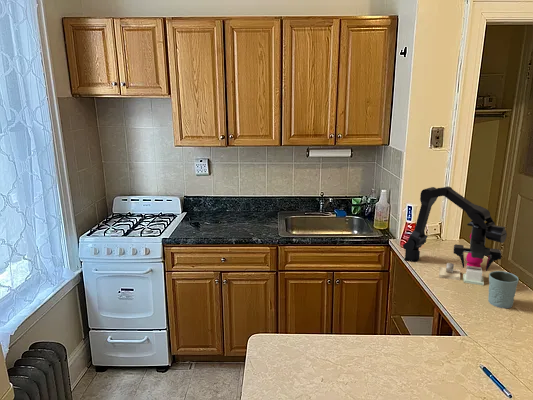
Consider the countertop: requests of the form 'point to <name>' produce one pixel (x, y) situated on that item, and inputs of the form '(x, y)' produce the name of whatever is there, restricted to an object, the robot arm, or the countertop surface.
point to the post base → (451, 275)
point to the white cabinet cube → (474, 273)
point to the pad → (473, 281)
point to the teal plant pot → (502, 289)
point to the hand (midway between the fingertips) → (474, 269)
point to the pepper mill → (473, 260)
